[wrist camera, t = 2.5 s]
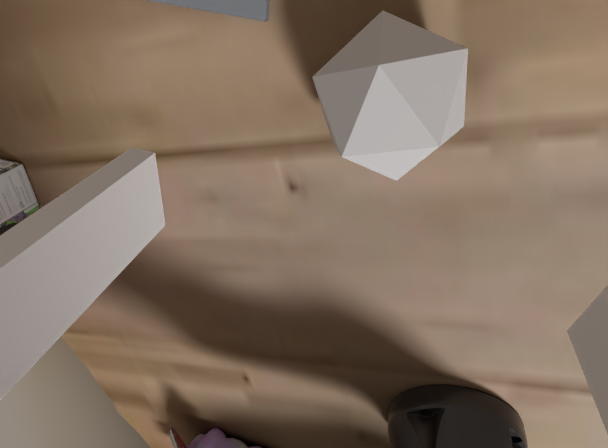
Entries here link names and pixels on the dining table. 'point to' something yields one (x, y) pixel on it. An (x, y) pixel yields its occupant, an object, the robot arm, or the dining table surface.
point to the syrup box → (15, 193)
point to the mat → (227, 7)
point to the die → (393, 95)
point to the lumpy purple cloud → (208, 440)
